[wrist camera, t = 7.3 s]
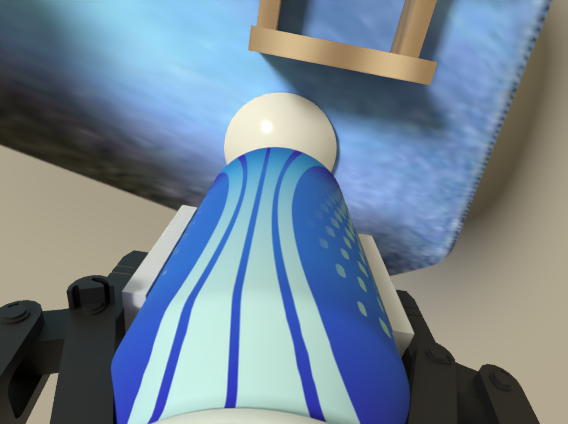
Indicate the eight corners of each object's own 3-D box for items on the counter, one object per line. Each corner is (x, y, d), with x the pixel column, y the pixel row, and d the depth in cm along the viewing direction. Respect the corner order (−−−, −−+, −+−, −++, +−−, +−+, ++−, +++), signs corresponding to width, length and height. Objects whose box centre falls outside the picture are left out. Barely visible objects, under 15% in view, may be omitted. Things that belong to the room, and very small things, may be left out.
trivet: (220, 191, 35) (219, 193, 34) (231, 81, 30) (230, 82, 29) (322, 207, 35) (322, 210, 35) (348, 103, 31) (349, 104, 30)
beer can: (342, 253, 23) (427, 586, 9) (225, 261, 24) (124, 590, 9) (339, 134, 19) (478, 375, 5) (200, 147, 20) (-32, 400, 6)
